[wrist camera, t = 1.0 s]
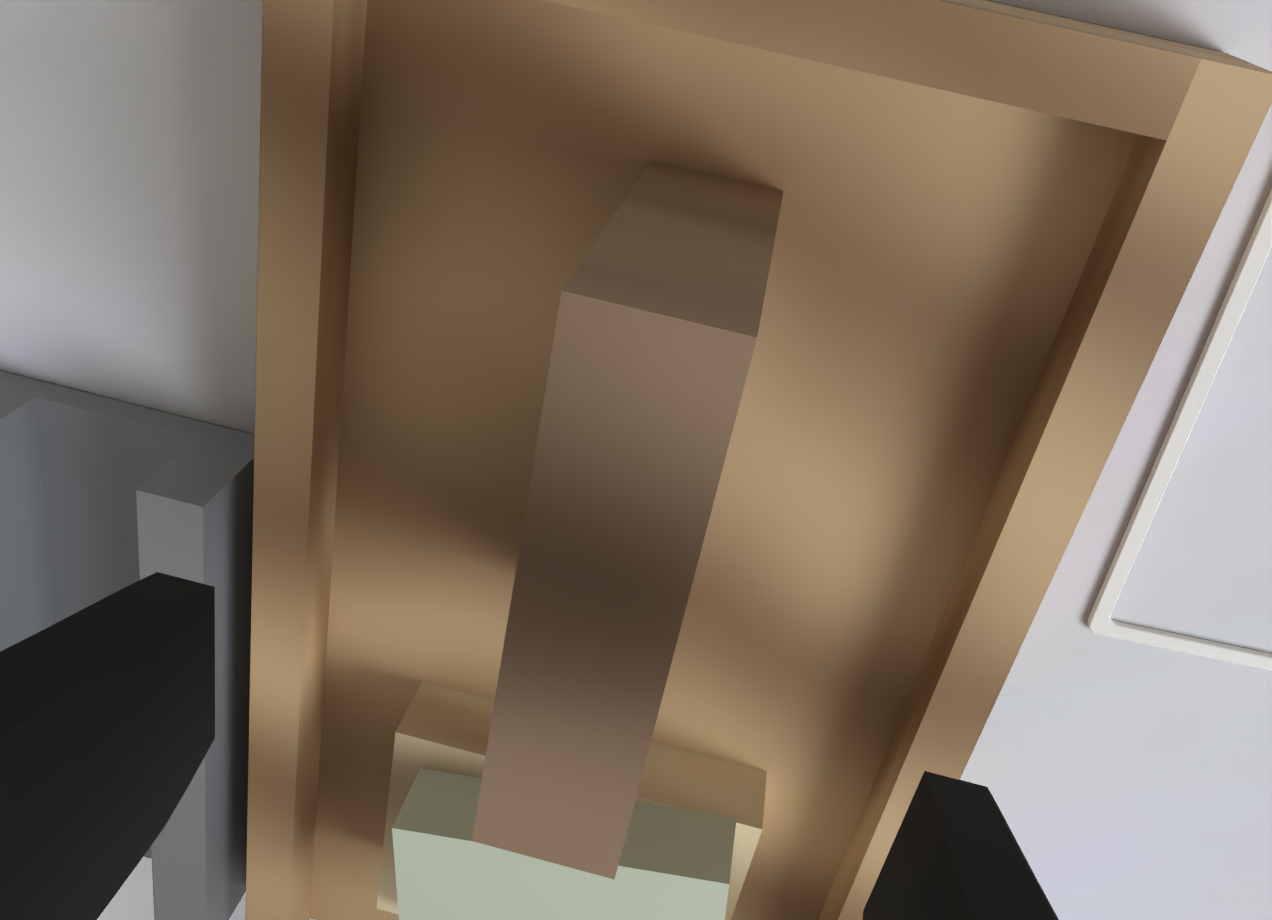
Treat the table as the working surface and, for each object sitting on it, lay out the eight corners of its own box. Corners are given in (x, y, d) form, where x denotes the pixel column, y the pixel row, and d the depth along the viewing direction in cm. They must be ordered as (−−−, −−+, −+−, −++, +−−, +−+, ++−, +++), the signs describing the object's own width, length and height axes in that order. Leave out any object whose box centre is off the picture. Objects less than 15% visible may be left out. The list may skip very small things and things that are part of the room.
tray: (810, 1016, 26) (808, 1107, 24) (287, 873, 26) (244, 949, 25) (1226, 53, 15) (1283, 76, 13) (335, -144, 16) (265, -149, 14)
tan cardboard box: (673, 618, 20) (614, 879, 15) (567, 591, 20) (471, 841, 15) (783, 190, 16) (757, 337, 11) (651, 160, 16) (560, 290, 11)
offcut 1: (710, 936, 24) (703, 997, 22) (401, 852, 24) (376, 908, 23) (766, 771, 21) (762, 829, 20) (422, 680, 22) (395, 732, 20)
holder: (268, 867, 26) (214, 959, 24) (37, 804, 27) (-37, 888, 25) (282, 442, 21) (213, 510, 18) (-14, 367, 21) (-117, 425, 19)
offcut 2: (717, 964, 22) (710, 1032, 20) (428, 912, 22) (403, 976, 21) (736, 818, 20) (729, 884, 19) (420, 768, 21) (392, 828, 19)
